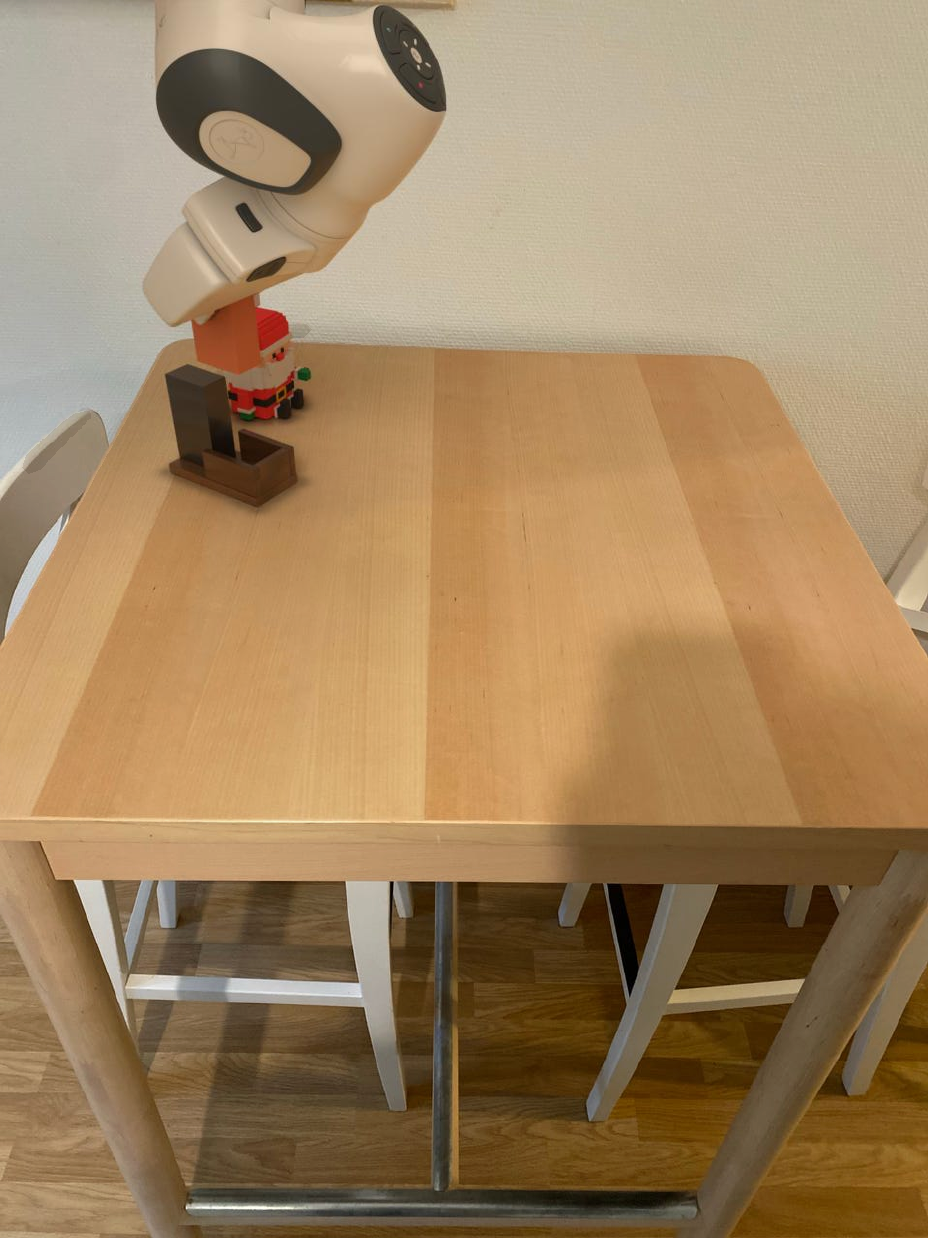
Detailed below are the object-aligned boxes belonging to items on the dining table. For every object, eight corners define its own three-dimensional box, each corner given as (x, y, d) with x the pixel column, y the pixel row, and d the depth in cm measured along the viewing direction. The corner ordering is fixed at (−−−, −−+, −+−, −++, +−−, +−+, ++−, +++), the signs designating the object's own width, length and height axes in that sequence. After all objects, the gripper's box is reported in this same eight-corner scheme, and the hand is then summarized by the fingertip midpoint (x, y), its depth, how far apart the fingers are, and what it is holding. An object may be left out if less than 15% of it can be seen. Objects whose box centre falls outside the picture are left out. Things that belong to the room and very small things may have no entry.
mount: (257, 507, 87) (245, 412, 81) (169, 472, 92) (152, 379, 85) (297, 481, 91) (289, 388, 85) (212, 448, 96) (198, 358, 89)
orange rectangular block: (238, 375, 80) (225, 271, 74) (197, 361, 82) (181, 259, 76) (261, 364, 82) (250, 262, 76) (220, 350, 84) (206, 250, 78)
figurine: (275, 428, 100) (265, 321, 92) (221, 414, 102) (206, 308, 94) (314, 397, 106) (307, 295, 98) (262, 386, 108) (251, 284, 100)
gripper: (352, 148, 75) (273, 247, 85) (170, 201, 62) (102, 310, 72) (396, 215, 77) (314, 304, 87) (227, 280, 63) (152, 378, 73)
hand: (216, 308), depth 79 cm, fingers closed on orange rectangular block, 3 cm apart
